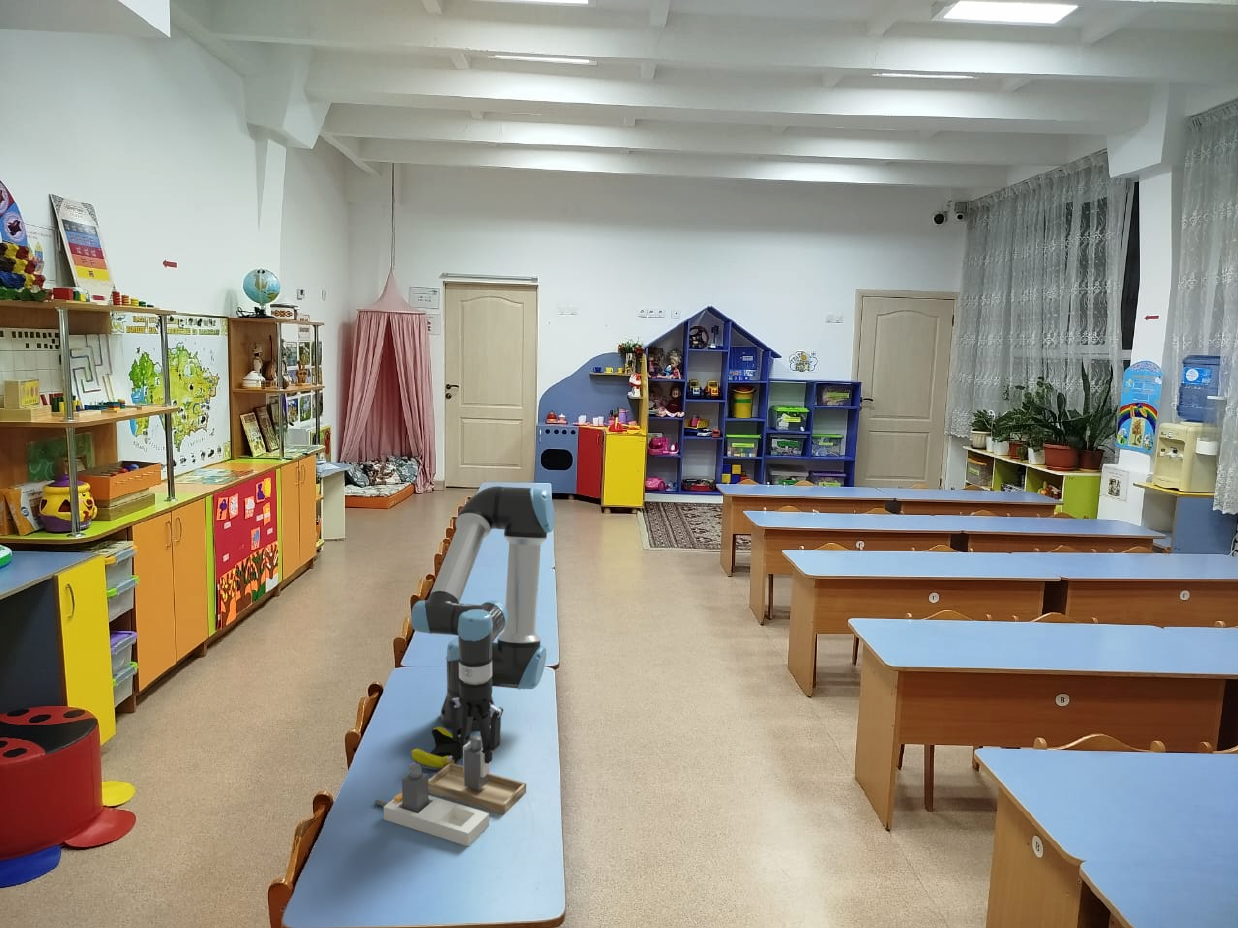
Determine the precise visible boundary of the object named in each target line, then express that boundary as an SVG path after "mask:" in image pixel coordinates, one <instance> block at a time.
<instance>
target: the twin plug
mask: <svg viewBox="0 0 1238 928" xmlns="http://www.w3.org/2000/svg"><path fill="white" fill-rule="evenodd" d="M428 780H429V774H428V773H424V772H422V767H421V764H419V763H415V762H414V763H413V762H412V763H411V764H409V765H408V773H407V774H406V775H404V777H402V778H401V792H402V809H405V810H409V811H412V812H415V813H419V812H420V811H422V810H423V809H424V808H425V807H426V806H427V805H429V799H428V795H429V792H428Z"/></svg>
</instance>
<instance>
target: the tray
mask: <svg viewBox="0 0 1238 928" xmlns="http://www.w3.org/2000/svg"><path fill="white" fill-rule="evenodd" d="M526 793H527V783H526V782H522V781H520V780H516V779H511V778H507V777H504V776H500V775H497V774H493V773H490V772H489V773H488V782H487V783H486V784H485V785H484V786H483V787H482V788H481V789H480V790H477V789H473V788H470V787H466V786H464V772H463V765H461V764H457V763H456V764H454V763H449V764H448V765H447V766H445V767H444V768H443V769H442V770H440V771H437V773H436V774H434V775H432V777H431V778H428V794H432V795H437V796H440V797H443V798H447V799H449V800H453V801H456V802H460V803H463V804H467V805H470V806H474V807H477V808H481V809H483V810H487V811H491V812H493V813H496V814H500V815H505V814H506V813H507V812H508V811H509V810H510V809H511V808H512V807H513V806H514V805H515V804H516V803H517V802H518V801H519V800H520V799H521V798H522V797H523V796H524V795H525V794H526Z"/></svg>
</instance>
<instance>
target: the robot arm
mask: <svg viewBox="0 0 1238 928" xmlns="http://www.w3.org/2000/svg"><path fill="white" fill-rule="evenodd" d="M554 524H555V508H554V502H553V499H552V496H551V494H550V492H548V490H545V489H540V488H536V487H535V488H534V487H531V488H530V487H528V488H527V487H512V486H511V487H510V486H509V487H508V486H497V485H496V486H489V487H487V488H484V489H483V490H481V491H479V492H478V493H475V494H474V495H472V497H471V498H470V499H469V500H468V501H466V502H465V504H464V505H463V506H462V508H461V509H460V511H459V512H458V515H457V517H456V519H455V528H456V529H455V532H454V534H453V537H452V540H451V542H450V544H449V547H448V550H447V551H446V555H445V557H444V559H443V562H442V564H441V567H440V569H439V572H438V574H437V577H436V579H435V582H434V584H433V587H432V589H431V591H430V594H429V595H428V596H429V597H428V599H427V600H425V599H424V600H417V601H416V603H414V605H413V606H412V609H411V615H410V623H411V627H412V629H413V630H414V631H415V632H418V633H424V634H429V635H431V634H435V635H436V634H437V635H448V636H451V635H452V636H457V637H455V638H453V639H452V640H450V642H449V643H448V645H447V649H446V657H445V661H446V695H445V698H444V700H443V704H442V707H441V711H440V721H441V724H442V725H443V726H445V727H446V728H448V729H451V734H452V736H453V740H454V741H456V740H457V741H458V742H459V744H460V754H461V756H462V757H461V758H462V764H463V765H462V766H463V772H464V750H465V749H466V748H468V747H469V746H470V738H471V737H470V736H471V731H475V730H479V733H480V736H481V740H482V745H483V749H482V750H481V751H480V774H481V777H484V776H486V775H487V774H488V773H490V772H491V771H490V763H491V762H492V761H493V752H494V751H495V750H497V748H499V747H500V746H501V731H502V730H501V725H502V724H501V723H502V715H503V713H504V708H503V707H501V706H500V707H497V706H496V705H495V701H494V699H493V695H492V694H493V687H496V688H506V689H516V690H518V691H519V690H533V689H535V688H537V686H538V685H539V684H540V682H541V679H542V677H543V674H544V670H545V667H546V661H547V648H546V647H545V646H544V645H541V637H540V636H539V635H538V633H537V632H536V628H537V626H536V625H537V612H538V611H537V610H538V596H539V595H538V593H539V578H540V562H541V560H540V559H541V545H542V544H543V543H544V542H545V541H546V540H547V538H548V537H547V536H548V534H549V533H552V532H553V530H554V526H555V525H554ZM495 529H496V530H503V531H504V533H503V536H504V538H505V539H506V540H507V542H508V555H507V557H508V558H507V559H508V560H507V574H506V591H505V605H504V604H503V603H502V602H500V601H498V600H488V601H486V602H484V603H482V604H469V603H468V604H467V603H461V599H462V597H463V594H464V592H465V589H466V587H467V584H468V581H469V579H470V576H471V573H472V571H473V568H474V564H475V562H476V560H477V557H478V555H479V552H480V549H481V546H482V545H483V541H484V539H486V538H487V537H489V535H490V533H491V531H492V530H495ZM496 638H497V642H495V639H496Z"/></svg>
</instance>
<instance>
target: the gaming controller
mask: <svg viewBox="0 0 1238 928" xmlns="http://www.w3.org/2000/svg"><path fill="white" fill-rule="evenodd" d="M431 737H432V739H433V741H434V746H435V747H434V748H433V749H432V750H431V751H430V752H427V751H424V750H422V749H420V748H415V749H412V750H411V759H412V761H413V762H414V763H419V764H421V768H422V767H423V768H426V769H430V770H434V771H437V772H439V771H440V770H442V769H443V768H444V767H445V766H447V765H448V764H449V763H454V764H457V763H458V762H459V761H460V759H461V758H463V757H462V756H461V754H460V744H459V742H458V741H457V740H456V741H454V740H453V736H452V732H450V731H449V730H447V729H446V728H444V727H442V726H439V725H438V726H437V727H434V728H432V730H431Z"/></svg>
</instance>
